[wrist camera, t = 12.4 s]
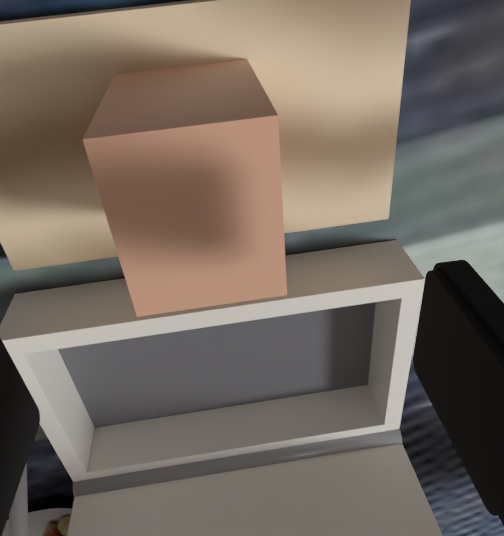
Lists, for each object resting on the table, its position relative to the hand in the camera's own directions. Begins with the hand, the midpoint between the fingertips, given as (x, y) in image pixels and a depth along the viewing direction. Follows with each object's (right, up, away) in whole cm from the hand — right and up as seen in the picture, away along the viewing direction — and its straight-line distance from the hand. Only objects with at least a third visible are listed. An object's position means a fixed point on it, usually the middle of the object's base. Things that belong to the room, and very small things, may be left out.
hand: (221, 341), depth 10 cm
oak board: (-2, +7, +10) cm, 12 cm away
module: (-2, +7, +9) cm, 11 cm away
